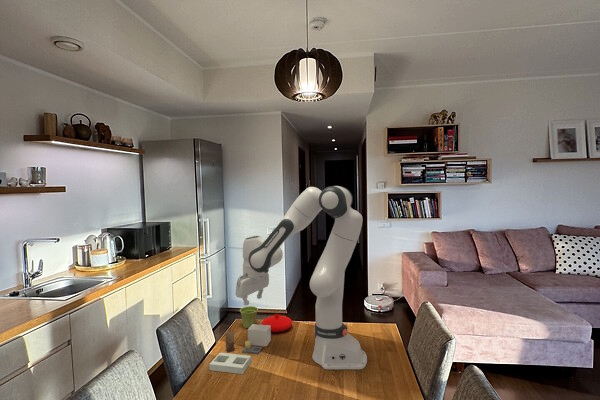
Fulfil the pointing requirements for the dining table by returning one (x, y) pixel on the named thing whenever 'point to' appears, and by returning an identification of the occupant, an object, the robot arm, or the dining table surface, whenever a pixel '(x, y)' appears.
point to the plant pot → (248, 315)
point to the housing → (259, 334)
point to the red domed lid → (277, 323)
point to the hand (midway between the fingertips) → (253, 301)
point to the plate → (251, 348)
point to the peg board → (230, 363)
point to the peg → (229, 341)
